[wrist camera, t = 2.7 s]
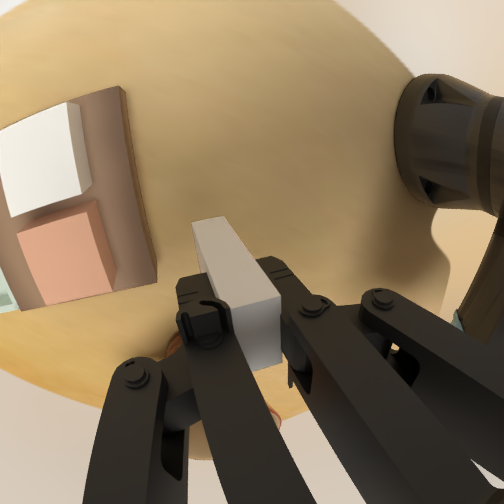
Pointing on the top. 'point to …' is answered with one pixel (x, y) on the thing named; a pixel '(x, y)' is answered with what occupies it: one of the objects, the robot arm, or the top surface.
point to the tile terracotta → (69, 254)
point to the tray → (6, 296)
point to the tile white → (44, 159)
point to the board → (102, 190)
